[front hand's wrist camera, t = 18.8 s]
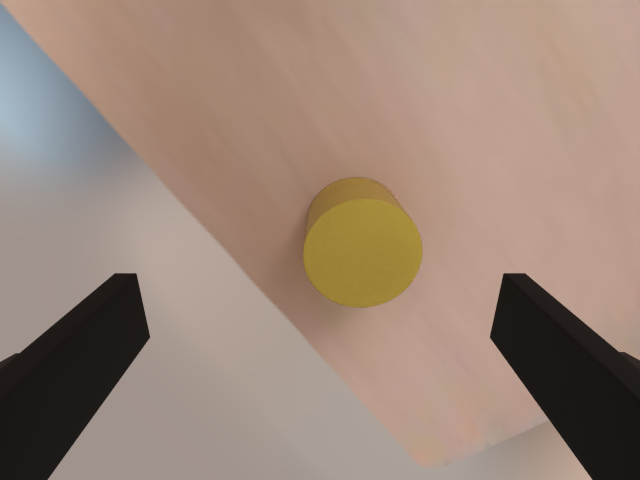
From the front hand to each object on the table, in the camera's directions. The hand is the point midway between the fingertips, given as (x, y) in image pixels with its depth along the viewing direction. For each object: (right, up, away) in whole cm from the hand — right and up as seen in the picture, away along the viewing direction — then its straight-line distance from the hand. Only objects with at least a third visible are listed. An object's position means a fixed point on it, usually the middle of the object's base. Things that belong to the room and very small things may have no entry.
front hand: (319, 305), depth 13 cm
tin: (+3, +4, +20) cm, 21 cm away
